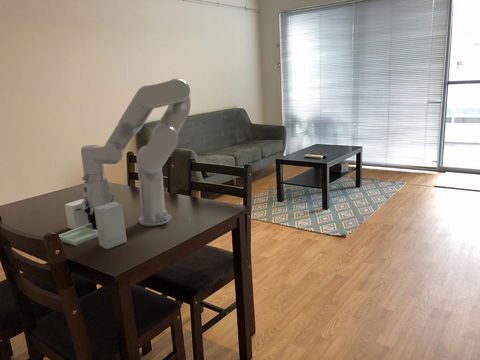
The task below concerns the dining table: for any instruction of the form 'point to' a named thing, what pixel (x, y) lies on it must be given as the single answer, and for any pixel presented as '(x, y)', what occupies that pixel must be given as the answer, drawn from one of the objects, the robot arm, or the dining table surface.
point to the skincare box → (110, 224)
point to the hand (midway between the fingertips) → (99, 219)
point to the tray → (78, 235)
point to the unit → (76, 215)
